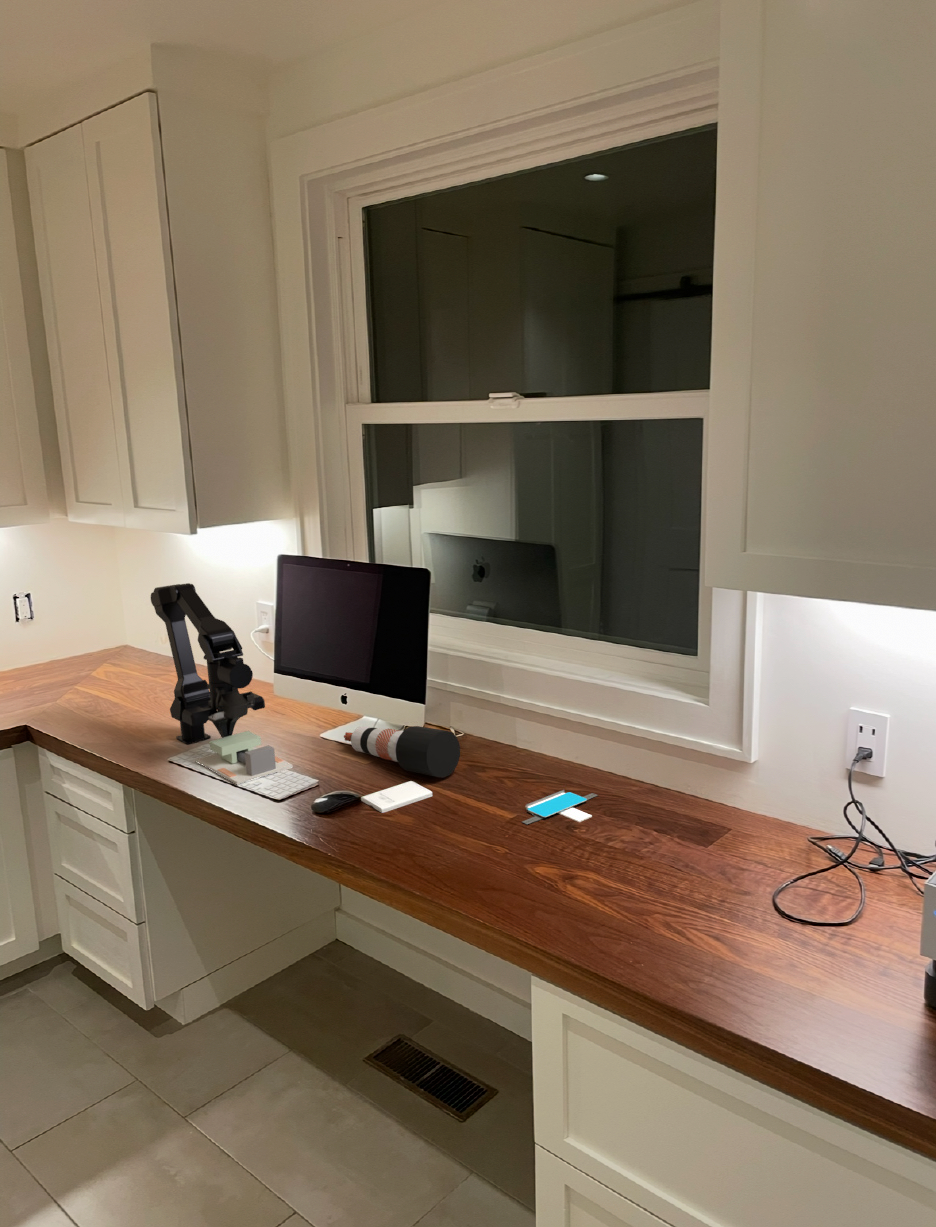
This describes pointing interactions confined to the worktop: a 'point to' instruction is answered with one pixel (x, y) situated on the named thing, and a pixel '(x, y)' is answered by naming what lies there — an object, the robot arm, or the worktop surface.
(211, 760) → the board
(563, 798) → the phone stand
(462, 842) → the worktop surface
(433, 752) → the banded black grey cylinder
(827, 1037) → the worktop surface
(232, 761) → the green block
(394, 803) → the external hard drive
